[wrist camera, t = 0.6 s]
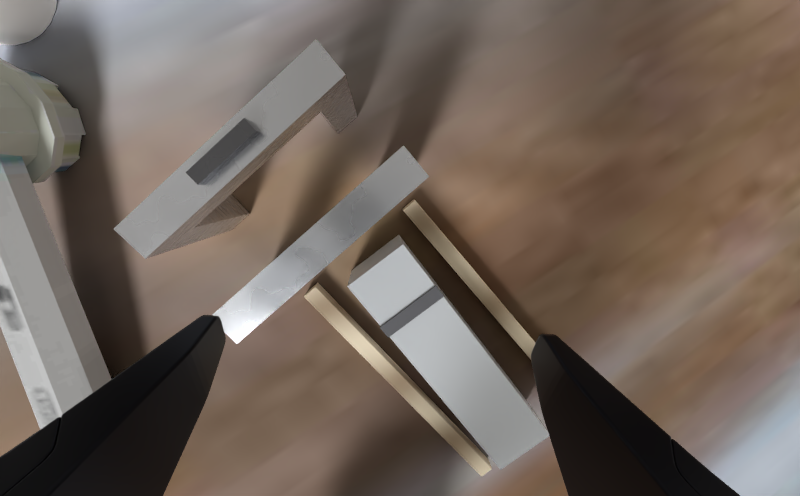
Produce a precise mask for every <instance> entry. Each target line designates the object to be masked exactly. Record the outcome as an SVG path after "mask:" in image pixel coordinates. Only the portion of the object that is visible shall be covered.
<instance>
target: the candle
mask: <svg viewBox="0 0 800 496" xmlns="http://www.w3.org/2000/svg"><path fill="white" fill-rule="evenodd" d="M56 5H57V0H0V45H19V44H23V43H26V42H30V41H31V40H33V39H35V38H36V37H38V36H39V35H41V34H42V33H43V32H44V31H45V29H46V28H47V27H48V26H49V25H50V23H51V21H52V18H53V16H54V13H55V11H56Z"/></svg>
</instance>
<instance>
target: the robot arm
mask: <svg viewBox="0 0 800 496" xmlns="http://www.w3.org/2000/svg"><path fill="white" fill-rule="evenodd" d="M225 339H226V338H225V333H224V329H223V325H222V321H221V319H220V317H219V316H215V315H203V316H201V317H199V318H198V319H196V320H195V321H193V322H192V323H191V324H189V325H188V326H186V327H185V328H184V329H182V330H181V331H179V332H178V333H176V334H175V335H174V336H172V337H171V338H169V339H168V340H167V341H165V342H164V343H162V344H161V345H160V346H158V347H157V348H155V349H154V350H152V351H151V352H150V353H148V354H147V355H145V356H144V357H143V358H141V359H140V360H138V361H137V362H135V363H134V364H133V365H131V366H130V367H128V368H127V369H126V370H124V371H123V372H121V373H120V374H119V375H117V376H116V377H114V378H113V379H111V380H110V381H109V382H107V383H106V384H104V385H103V386H102V387H100V388H99V389H97V390H96V391H94V392H93V393H92V394H90V395H89V396H87V397H86V398H85V399H83V400H82V401H80V402H79V403H77V404H76V405H75V406H73V407H72V408H70V409H69V410H68V411H66V412H65V413H63V414H62V416H61V417H58V418H56V419H55V420H53V421H52V422H50V423H49V424H48V425H46V426H45V427H43V428H42V429H41V430H39V431H38V432H36V433H35V434H33V435H32V436H30V437H29V438H27V439H26V440H25V441H23V442H22V443H20V444H19V445H17V446H16V447H14V448H13V449H11V450H10V451H8V452H7V453H5V454H4V455H2V456H1V457H0V496H163V494H164V492H165V490H166V488H167V486H168V483H169V481H170V479H171V477H172V475H173V472H174V470H175V468H176V466H177V464H178V461H179V459H180V457H181V455H182V452H183V450H184V448H185V446H186V444H187V441H188V439H189V437H190V435H191V433H192V430H193V428H194V426H195V424H196V422H197V419H198V417H199V415H200V413H201V411H202V408H203V406H204V404H205V401H206V399H207V397H208V394H209V391H210V388H211V385H212V382H213V379H214V376H215V373H216V370H217V367H218V364H219V361H220V357H221V354H222V351H223V348H224V345H225ZM531 362H532V367H533V372H534V377H535V381H536V386H537V391H538V396H539V401H540V405H541V410H542V413H543V417H544V420H545V423H546V426H547V429H548V433H549V436H550V439H551V442H552V445H553V448H554V451H555V455H556V458H557V461H558V464H559V467H560V470H561V473H562V476H563V480H564V483H565V486H566V489H567V492H568V495H569V496H740V495H739V494H738V493H736V492H735V491H734V490H733V489H731V488H730V487H729V486H728V485H726V484H725V483H724V482H723V481H722V480H720V479H719V478H718V477H717V476H715V475H714V474H713V473H712V472H711V471H709V470H708V469H707V468H706V467H705V466H704V465H702V464H701V463H700V462H699V461H698V460H697V459H695V458H694V457H693V456H692V455H691V454H690V453H689V452H687V451H686V450H685V449H684V448H683V447H682V446H681V445H679V444H678V443H677V442H676V441H675V440H674V439H671V437H670V436H669V435H668V434H667V433H666V432H665V431H664V430H662V429H661V428H660V427H659V426H658V425H657V424H656V423H655V422H653V421H652V420H651V419H650V418H649V417H648V416H647V415H646V414H644V413H643V412H642V411H641V410H640V409H639V408H638V407H637V406H635V405H634V404H633V403H632V402H631V401H630V400H629V399H628V398H626V397H625V396H624V395H623V394H622V393H621V392H620V391H618V390H617V389H616V388H615V387H614V386H613V385H612V384H611V383H609V382H608V381H607V380H606V379H605V378H604V377H603V376H602V375H600V374H599V373H598V372H597V371H596V370H595V369H594V368H593V367H591V366H590V365H589V364H588V363H587V362H586V361H585V360H584V359H582V358H581V357H580V356H579V355H578V354H577V353H576V352H575V351H573V350H572V349H571V348H570V347H569V346H568V345H567V344H566V343H564V342H563V341H562V340H561V339H560V338H559V337H558V336H556V335H554V334H541V335H540V336H539V337H538V339H537V341H536V343H535V346H534V348H533V350H532V353H531Z"/></svg>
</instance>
